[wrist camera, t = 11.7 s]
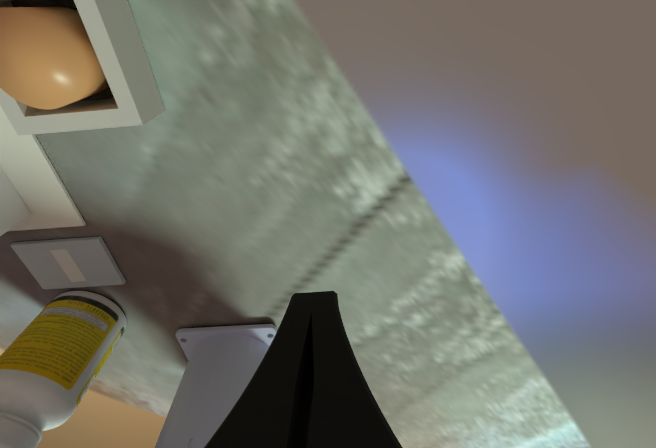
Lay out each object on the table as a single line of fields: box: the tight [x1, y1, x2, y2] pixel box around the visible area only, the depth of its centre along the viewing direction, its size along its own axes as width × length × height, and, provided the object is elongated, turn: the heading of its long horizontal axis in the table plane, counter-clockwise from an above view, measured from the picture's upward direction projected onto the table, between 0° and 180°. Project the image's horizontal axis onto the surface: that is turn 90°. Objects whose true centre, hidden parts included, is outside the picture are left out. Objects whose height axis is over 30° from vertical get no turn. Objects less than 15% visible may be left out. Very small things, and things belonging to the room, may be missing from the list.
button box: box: [0, 0, 165, 136], centre depth 15 cm, size 6×6×2 cm
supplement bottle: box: [0, 291, 127, 448], centre depth 22 cm, size 5×5×10 cm
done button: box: [0, 7, 109, 110], centre depth 14 cm, size 4×4×3 cm
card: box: [10, 236, 126, 290], centre depth 23 cm, size 4×6×1 cm, turn 95°
